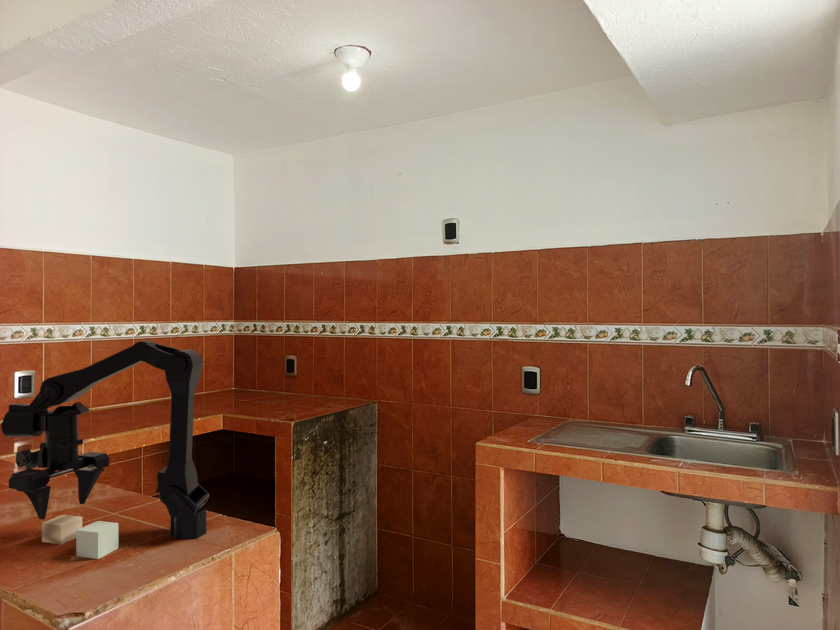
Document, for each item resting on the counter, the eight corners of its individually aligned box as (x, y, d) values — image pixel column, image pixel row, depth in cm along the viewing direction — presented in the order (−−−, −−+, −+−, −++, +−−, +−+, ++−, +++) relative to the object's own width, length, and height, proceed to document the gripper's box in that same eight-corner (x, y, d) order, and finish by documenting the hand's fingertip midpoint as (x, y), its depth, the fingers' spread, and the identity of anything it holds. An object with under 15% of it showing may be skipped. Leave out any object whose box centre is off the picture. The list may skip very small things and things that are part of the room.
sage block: (118, 548, 110) (118, 523, 110) (98, 559, 106) (98, 532, 106) (97, 545, 112) (97, 520, 112) (76, 556, 107) (76, 530, 107)
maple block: (82, 540, 117) (82, 516, 117) (60, 550, 113) (60, 525, 113) (63, 538, 119) (63, 514, 119) (41, 547, 114) (41, 522, 114)
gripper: (71, 425, 127) (72, 494, 127) (-13, 443, 109) (-13, 523, 109) (110, 427, 124) (111, 498, 124) (30, 447, 106) (31, 529, 106)
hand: (62, 511), depth 116 cm, fingers open, 9 cm apart
